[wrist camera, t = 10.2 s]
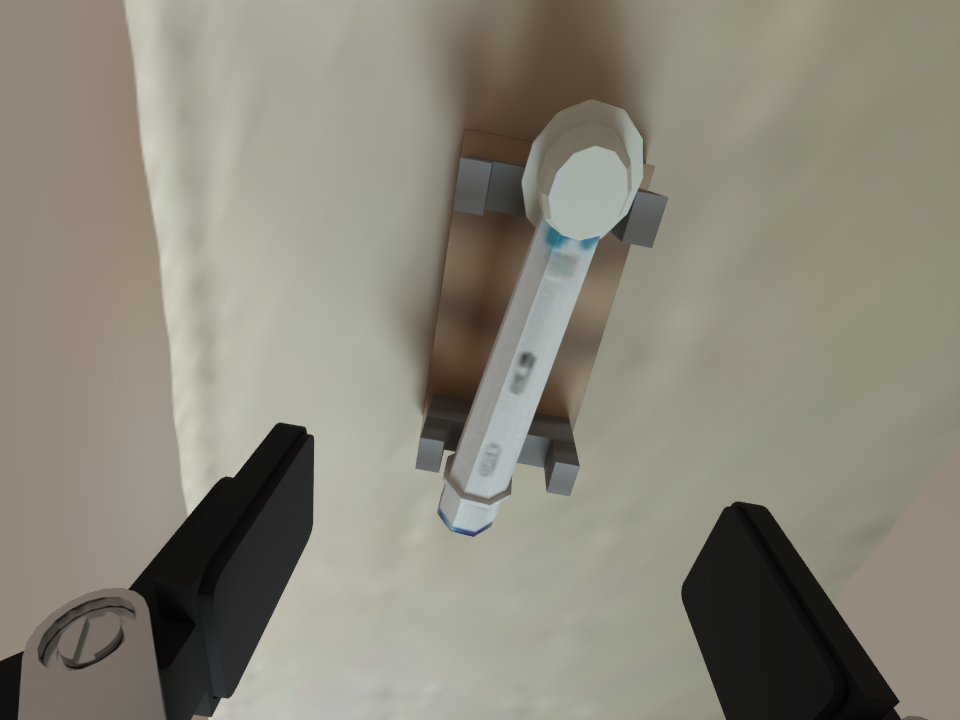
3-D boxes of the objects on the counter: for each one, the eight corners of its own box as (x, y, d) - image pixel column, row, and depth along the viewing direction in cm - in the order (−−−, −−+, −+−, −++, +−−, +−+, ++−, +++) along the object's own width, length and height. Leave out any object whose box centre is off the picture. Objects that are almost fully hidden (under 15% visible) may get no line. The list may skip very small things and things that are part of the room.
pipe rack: (467, 129, 28) (453, 124, 21) (645, 164, 28) (688, 170, 22) (424, 420, 37) (405, 483, 30) (560, 445, 37) (572, 512, 30)
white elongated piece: (421, 528, 30) (553, 91, 16) (439, 454, 35) (547, 84, 22) (500, 547, 30) (694, 134, 17) (505, 471, 36) (653, 117, 22)
